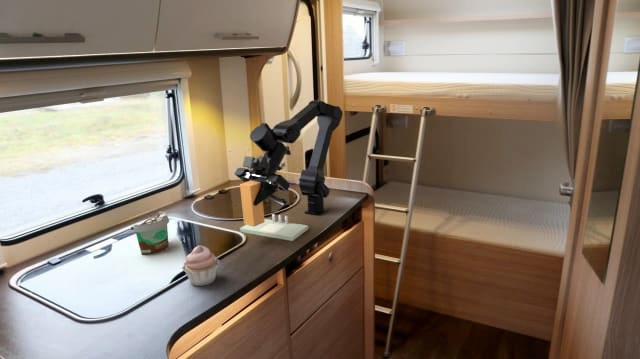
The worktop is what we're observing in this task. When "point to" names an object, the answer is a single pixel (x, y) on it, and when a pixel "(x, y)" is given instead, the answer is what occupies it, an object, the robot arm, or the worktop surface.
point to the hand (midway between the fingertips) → (248, 203)
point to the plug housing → (251, 204)
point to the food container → (153, 234)
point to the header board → (276, 229)
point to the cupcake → (201, 266)
